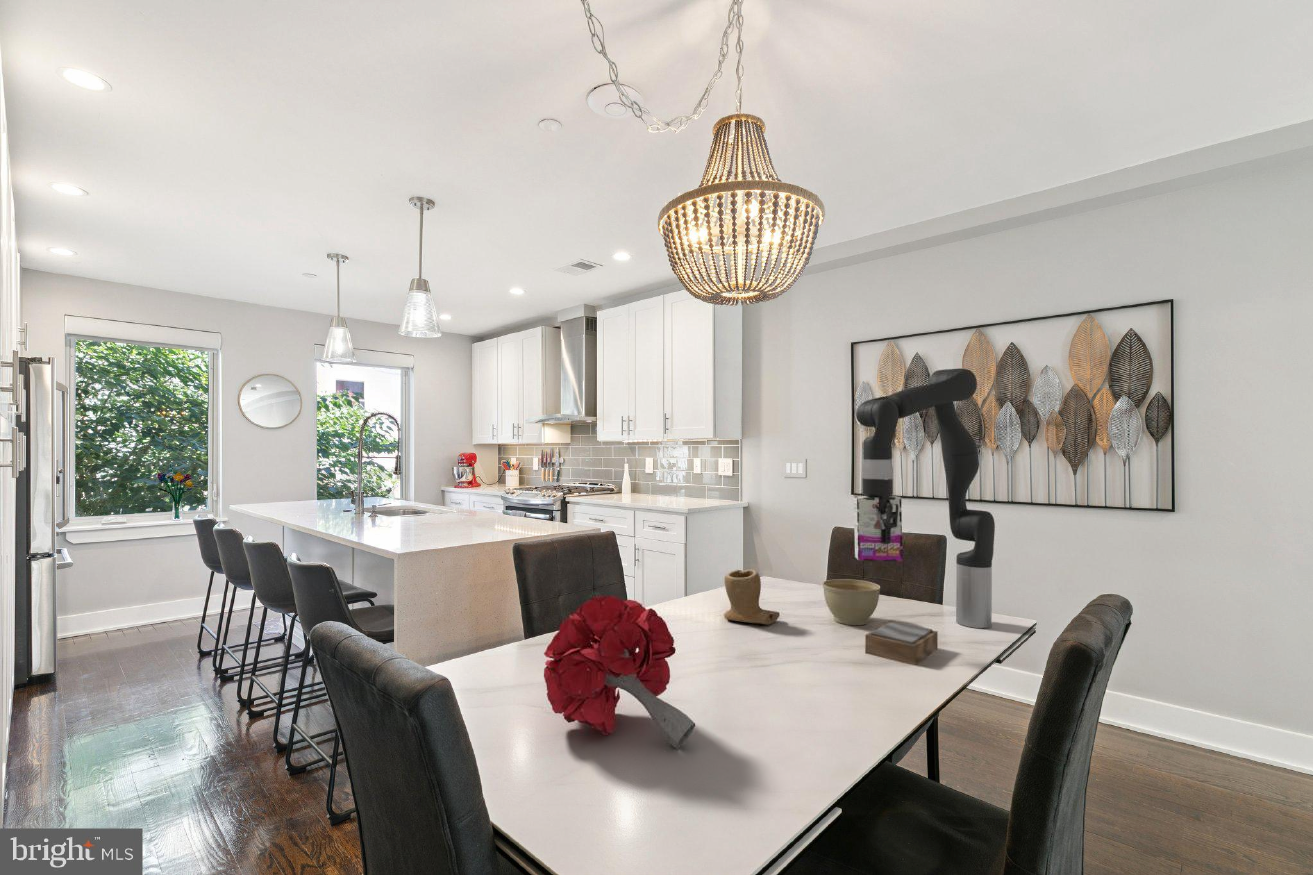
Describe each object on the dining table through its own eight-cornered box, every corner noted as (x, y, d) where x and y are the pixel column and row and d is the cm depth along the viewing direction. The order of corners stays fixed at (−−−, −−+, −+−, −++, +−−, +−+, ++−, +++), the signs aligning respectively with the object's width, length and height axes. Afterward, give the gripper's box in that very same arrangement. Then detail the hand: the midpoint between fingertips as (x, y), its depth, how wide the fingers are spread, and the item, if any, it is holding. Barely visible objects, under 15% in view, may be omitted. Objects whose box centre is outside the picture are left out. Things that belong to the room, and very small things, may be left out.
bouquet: (692, 750, 116) (585, 646, 130) (746, 657, 109) (626, 557, 122) (623, 815, 98) (507, 686, 112) (683, 708, 91) (550, 585, 104)
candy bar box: (897, 558, 160) (897, 495, 160) (902, 561, 155) (902, 497, 155) (853, 557, 162) (853, 495, 162) (857, 561, 157) (857, 497, 157)
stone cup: (716, 623, 177) (717, 571, 177) (732, 613, 187) (732, 564, 187) (766, 631, 169) (767, 577, 169) (780, 621, 180) (780, 569, 180)
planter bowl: (885, 619, 183) (885, 582, 183) (872, 633, 169) (873, 593, 169) (831, 611, 191) (831, 576, 191) (815, 623, 178) (815, 585, 178)
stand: (890, 638, 164) (890, 619, 164) (937, 649, 156) (937, 629, 156) (865, 653, 152) (865, 632, 152) (914, 665, 144) (914, 643, 144)
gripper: (849, 475, 165) (849, 538, 164) (881, 478, 151) (882, 547, 151) (873, 475, 167) (873, 536, 166) (908, 478, 153) (908, 545, 153)
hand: (877, 541), depth 159 cm, fingers closed on candy bar box, 6 cm apart
